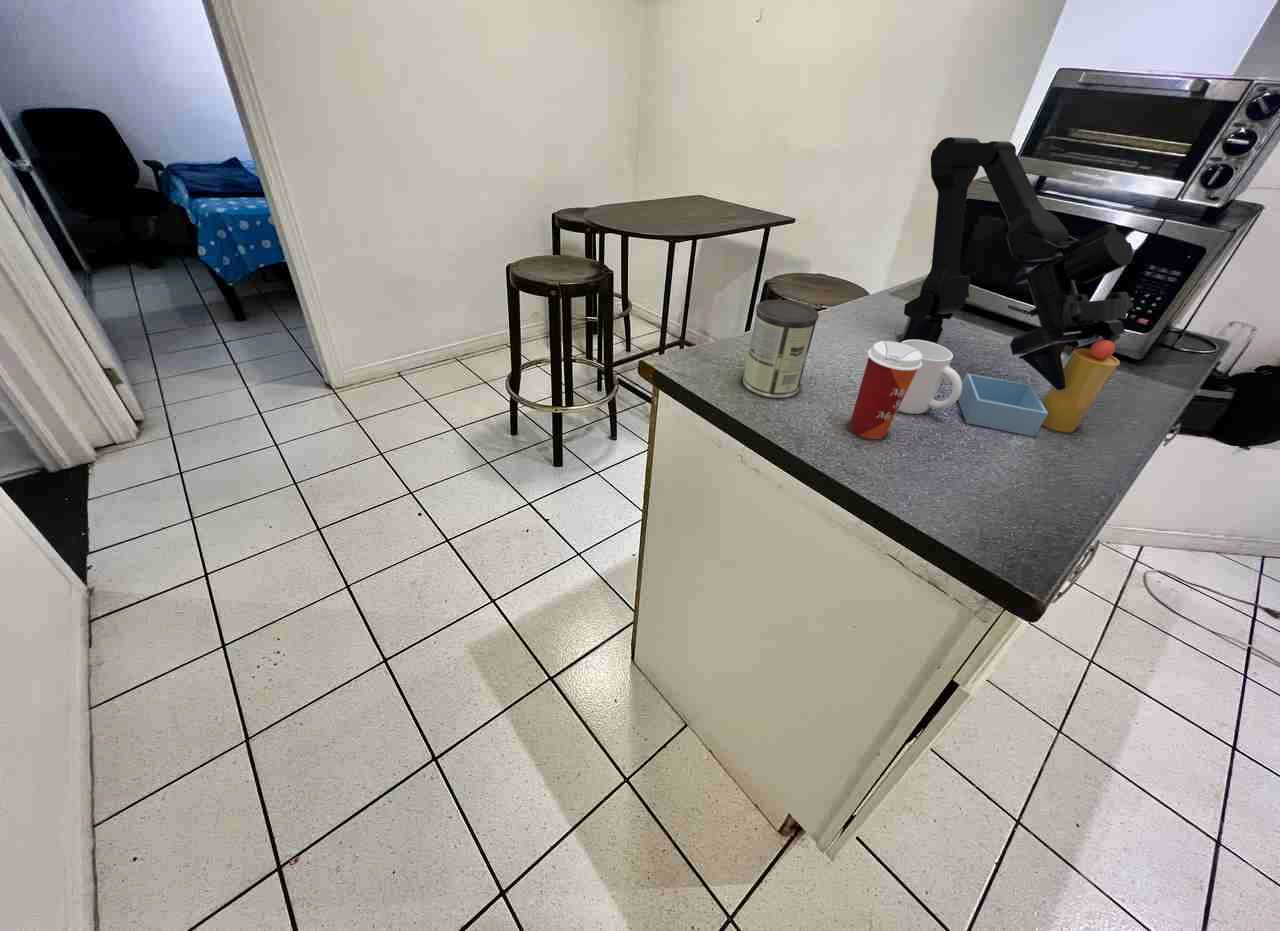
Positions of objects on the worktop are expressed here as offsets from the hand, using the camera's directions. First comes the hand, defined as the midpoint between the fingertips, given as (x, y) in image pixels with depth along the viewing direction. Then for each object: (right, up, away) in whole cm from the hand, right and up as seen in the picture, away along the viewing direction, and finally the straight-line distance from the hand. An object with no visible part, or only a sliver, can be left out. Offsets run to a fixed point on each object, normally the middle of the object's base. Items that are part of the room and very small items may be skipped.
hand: (1081, 386), depth 86 cm
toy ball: (0, +5, -3) cm, 6 cm away
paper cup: (-35, -7, 0) cm, 36 cm away
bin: (-10, -4, +6) cm, 13 cm away
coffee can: (-49, +2, +10) cm, 50 cm away
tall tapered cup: (-1, -6, +5) cm, 7 cm away
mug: (-24, -3, +6) cm, 25 cm away
